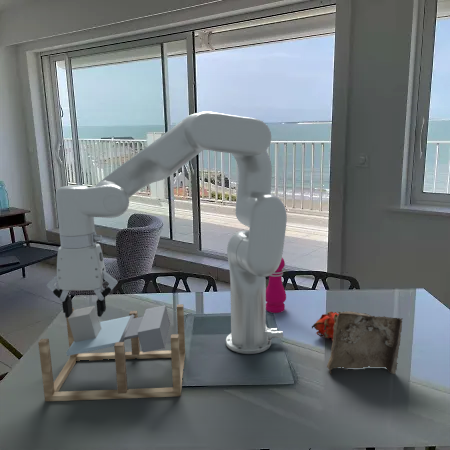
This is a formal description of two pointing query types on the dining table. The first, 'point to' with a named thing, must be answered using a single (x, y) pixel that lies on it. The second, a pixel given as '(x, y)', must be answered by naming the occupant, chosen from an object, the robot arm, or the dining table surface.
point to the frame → (119, 355)
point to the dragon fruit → (326, 325)
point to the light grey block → (84, 323)
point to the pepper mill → (276, 291)
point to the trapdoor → (129, 332)
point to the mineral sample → (365, 341)
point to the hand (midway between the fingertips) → (85, 314)
